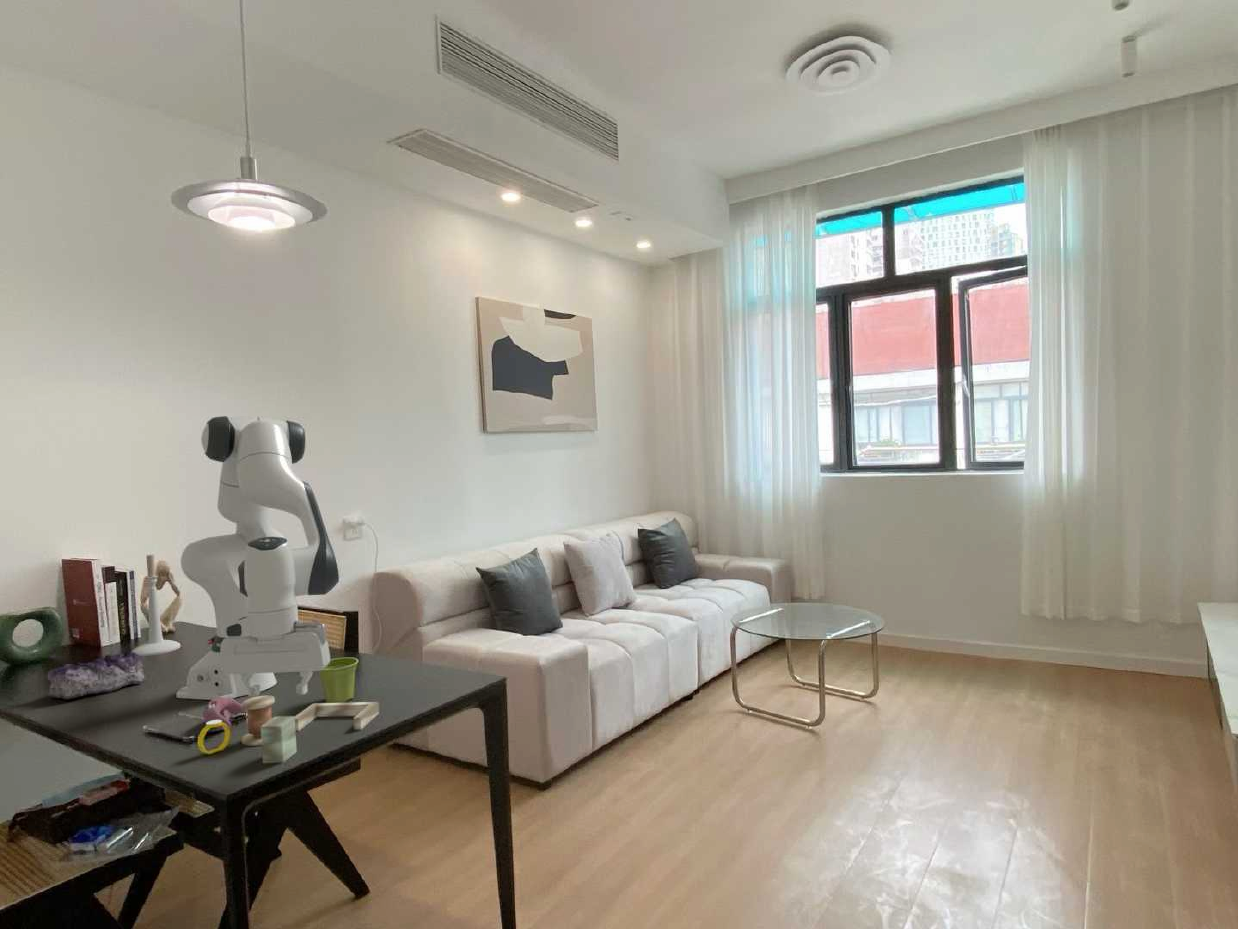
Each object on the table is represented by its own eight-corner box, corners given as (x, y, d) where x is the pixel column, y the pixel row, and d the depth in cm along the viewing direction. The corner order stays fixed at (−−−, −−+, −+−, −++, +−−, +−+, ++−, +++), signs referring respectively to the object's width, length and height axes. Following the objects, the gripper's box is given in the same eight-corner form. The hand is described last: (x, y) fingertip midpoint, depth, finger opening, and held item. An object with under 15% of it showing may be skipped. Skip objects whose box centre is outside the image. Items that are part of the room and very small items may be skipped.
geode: (138, 676, 203) (138, 641, 202) (149, 690, 195) (150, 653, 194) (44, 694, 188) (45, 656, 187) (53, 710, 180) (53, 670, 179)
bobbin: (234, 746, 149) (232, 707, 149) (254, 732, 156) (251, 695, 156) (268, 745, 149) (265, 706, 149) (286, 732, 156) (283, 694, 156)
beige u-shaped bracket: (292, 731, 156) (291, 719, 156) (313, 714, 166) (313, 703, 166) (361, 729, 155) (360, 718, 155) (379, 713, 165) (378, 702, 164)
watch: (204, 759, 144) (202, 728, 143) (195, 756, 145) (193, 726, 145) (233, 747, 149) (231, 717, 149) (225, 745, 150) (223, 715, 150)
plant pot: (320, 709, 169) (317, 671, 168) (316, 697, 177) (313, 661, 177) (363, 701, 173) (361, 664, 173) (357, 690, 181) (355, 655, 181)
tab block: (262, 763, 141) (260, 726, 140) (277, 752, 146) (274, 716, 145) (283, 762, 140) (281, 726, 140) (296, 751, 145) (294, 716, 145)
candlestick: (190, 644, 235) (184, 550, 234) (156, 656, 222) (149, 556, 221) (156, 644, 237) (150, 550, 237) (121, 655, 225) (114, 557, 224)
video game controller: (232, 722, 168) (215, 696, 167) (250, 712, 168) (234, 685, 167) (212, 740, 158) (194, 712, 157) (231, 728, 158) (214, 700, 158)
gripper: (333, 616, 145) (338, 687, 145) (232, 621, 146) (237, 691, 146) (318, 624, 138) (323, 698, 139) (212, 629, 140) (218, 702, 140)
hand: (278, 694), depth 142 cm, fingers open, 8 cm apart
